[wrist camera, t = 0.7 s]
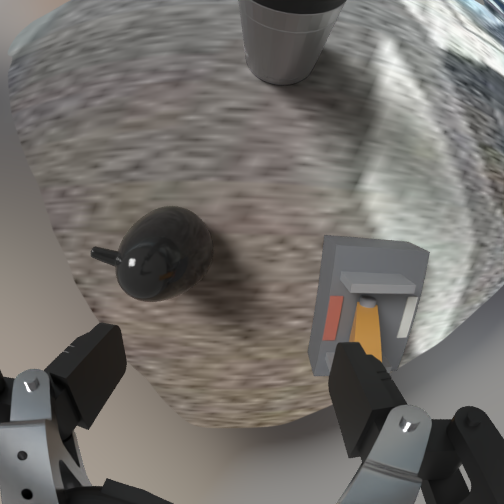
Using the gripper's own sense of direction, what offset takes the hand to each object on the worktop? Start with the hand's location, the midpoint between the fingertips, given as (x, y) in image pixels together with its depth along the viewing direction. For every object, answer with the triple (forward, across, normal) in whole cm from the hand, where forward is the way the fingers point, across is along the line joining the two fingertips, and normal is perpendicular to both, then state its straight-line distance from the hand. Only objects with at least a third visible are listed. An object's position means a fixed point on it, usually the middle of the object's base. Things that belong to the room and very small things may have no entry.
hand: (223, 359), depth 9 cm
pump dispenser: (+28, +9, +2) cm, 29 cm away
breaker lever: (+21, -15, +9) cm, 27 cm away
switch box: (+27, -16, +9) cm, 33 cm away
